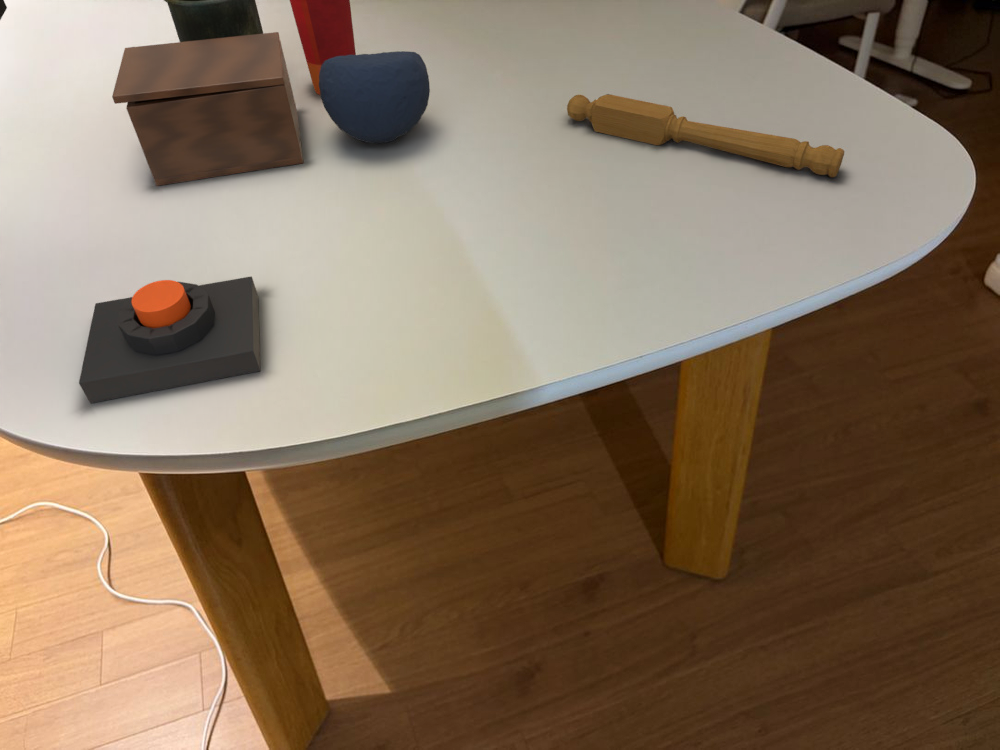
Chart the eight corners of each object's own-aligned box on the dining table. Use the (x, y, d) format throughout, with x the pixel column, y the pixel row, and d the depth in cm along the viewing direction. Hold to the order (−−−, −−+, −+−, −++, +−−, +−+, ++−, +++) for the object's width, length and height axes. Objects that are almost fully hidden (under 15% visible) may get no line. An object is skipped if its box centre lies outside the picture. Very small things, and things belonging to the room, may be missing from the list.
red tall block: (375, 75, 103) (357, -42, 93) (354, 102, 98) (332, -19, 88) (319, 72, 105) (295, -44, 95) (295, 98, 99) (267, -21, 89)
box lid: (114, 104, 79) (111, 96, 78) (127, 54, 88) (124, 47, 87) (284, 84, 81) (283, 77, 81) (279, 38, 90) (278, 31, 90)
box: (156, 186, 85) (126, 107, 79) (164, 132, 94) (137, 58, 88) (303, 163, 87) (284, 85, 81) (297, 113, 96) (280, 39, 90)
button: (137, 332, 62) (128, 315, 61) (141, 302, 65) (133, 284, 64) (189, 323, 63) (182, 306, 61) (191, 293, 65) (185, 275, 64)
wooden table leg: (840, 156, 78) (562, 98, 89) (832, 184, 80) (562, 124, 91) (847, 142, 79) (575, 87, 91) (839, 170, 82) (574, 112, 93)
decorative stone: (449, 147, 89) (441, 57, 82) (345, 172, 86) (327, 81, 79) (416, 104, 96) (406, 19, 90) (319, 126, 94) (301, 40, 87)
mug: (203, 111, 98) (171, 9, 90) (178, 70, 107) (146, -26, 99) (289, 89, 101) (265, -11, 93) (256, 51, 111) (232, -43, 102)
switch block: (90, 403, 62) (68, 365, 59) (105, 323, 69) (86, 286, 66) (260, 371, 64) (247, 333, 61) (258, 296, 71) (246, 258, 68)
